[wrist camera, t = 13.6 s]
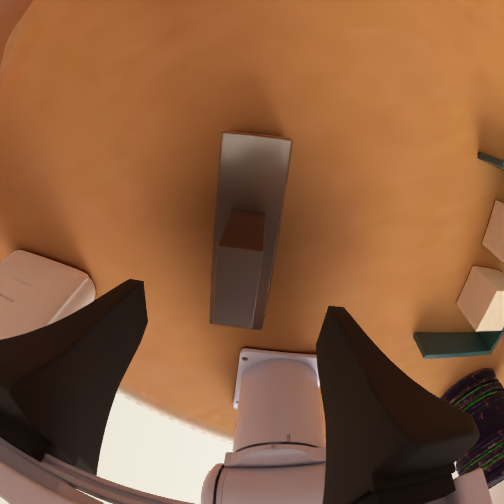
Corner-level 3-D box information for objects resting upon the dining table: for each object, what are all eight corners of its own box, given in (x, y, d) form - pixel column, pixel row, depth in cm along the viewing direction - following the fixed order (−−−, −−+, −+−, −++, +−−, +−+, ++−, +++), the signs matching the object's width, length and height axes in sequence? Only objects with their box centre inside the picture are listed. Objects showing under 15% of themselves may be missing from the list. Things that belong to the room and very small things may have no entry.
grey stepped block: (263, 300, 22) (259, 383, 15) (217, 294, 22) (195, 375, 15) (288, 135, 17) (302, 150, 10) (230, 128, 17) (201, 139, 10)
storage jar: (497, 383, 28) (532, 459, 14) (444, 420, 31) (469, 499, 18) (489, 356, 25) (537, 449, 12) (427, 401, 28) (458, 500, 15)
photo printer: (96, 270, 22) (10, 378, 11) (99, 309, 24) (32, 414, 13) (15, 242, 21) (-69, 314, 10) (21, 278, 23) (-50, 353, 12)
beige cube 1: (482, 305, 22) (501, 330, 18) (455, 303, 22) (475, 331, 18) (498, 269, 20) (522, 293, 16) (472, 265, 20) (497, 290, 16)
